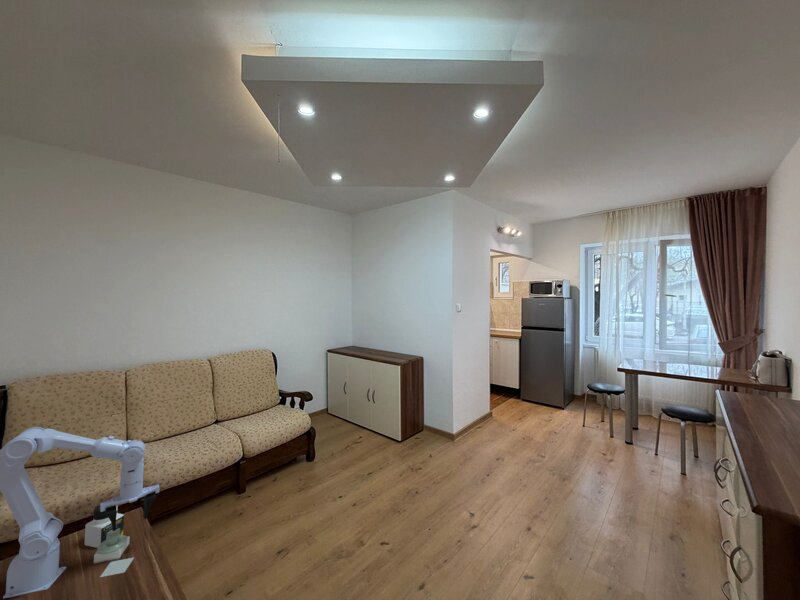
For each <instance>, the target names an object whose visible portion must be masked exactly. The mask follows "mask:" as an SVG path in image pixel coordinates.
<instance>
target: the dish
mask: <svg viewBox="0 0 800 600" xmlns="http://www.w3.org/2000/svg"><path fill="white" fill-rule="evenodd" d="M129 546H130V536H127V543H126V544H125V545H124V546H123V547H122V548H120V549H119V550H117V551H114V552H112V553H109V554H99V553H98V550H97V551H95V553H94V554H93V564H99V563H104V562H109V561H110V562H111V561H116V560H120V559H121V557H122V555H123V554H124V552H125V551H126V549H127V548H128V547H129Z"/></svg>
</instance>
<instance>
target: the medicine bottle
mask: <svg viewBox="0 0 800 600" xmlns="http://www.w3.org/2000/svg"><path fill="white" fill-rule="evenodd" d="M118 507H119V505H117V506H116V510H117V511H118ZM92 519H93V520H91V521H89V522H87V523H86V524H85V525H84V527H85V529H84V546H86V547H92V548H95V549H98V546H99V545H100V544H101V543H102V542H104V541H105V540H106V537H107V533H108V532H110V531H112V530H113V529H112V523H111V521H110V519H109V518H108V516H107V515H106V512H105V511H103V512H101V511H100V504H99V505H97V506H96V507H95V508H94V509H93V518H92ZM124 523H125V513H124V514H123V513H119V512H117V515H116V529H119V530H120V535H124Z"/></svg>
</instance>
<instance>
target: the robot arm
mask: <svg viewBox="0 0 800 600" xmlns="http://www.w3.org/2000/svg"><path fill="white" fill-rule="evenodd" d="M53 449H62V450H71V451H80V452H81V451H82V452H89V453H90V455H91V457H93V458H99V459H105V460H111V461H119V463H120V464H121V468H120V482H119V483H120V484H119V495H117V496H114V497H113V498H111V499H108V500H106V501H103V502H101V503H100V504H99V505H100V511H101V512H103V511H105V512H106V515H107V516H108V518H109V519H110V521H111V523H112V529H113V531H115V530H116V515H117V513H118V509H117V510H116V506H117V505H118V506H120V505H123V504H126V503H129V504H131V503H134V502H137V501H138V499H140V498H143V511H142V518H143V519H144V520H147V519H148V516H149V512H150V510H151V507H152V505H153V504H154V501H155V500H156V497H157V494H159V493H160V485H159V484H156V485H151V486H147V487H144V474H145V473H144V470H145V462H144V461H145V458H144V454H145V451H146V444H145V442H144V441H142V440H139V439H133V440H130V439H127V440H123V439H118V438H117V439H116V438H115V436H113V435H108V437H106V436H104V437H101V438H98V439H95V438H94V439H93V438H89V437H84V436H81V435H75V434H73V433H72V434H71V433H68V432H63V431H59V430H56V429H53V428H43V427H39V426H33V427H29V428H27V429H25V430H23V431H22V432H21V433H19V435H17V436H16V437H14V438H13V439H11V440H9V441H8V442H7V443H5V445H4V446H2V448H1V449H0V492H1V494H2V496H3V498H4V500H5V502H6V503H7V506H8V507H9V510H10V511H11V512H10V513H12V516H13V517H14V519H15V521H16V523H17V525H18V527H19V533H18V543H19V545H20V547H19V550H18V552H19V553H18V554H17V555H16V556H15V557H14V558H13V559H12V560H11V562H10V564H9V565H8V569H7V572H6V582H5V583H6V584H5V594H4V595H3V596H2V598H3V599H7V598H8V599H9V598H13V597H19V596H22V595H25V594H31V593H35V592H41V591H45V590H48V589H49V588H50V587H51V586H52V585H53V583H54V582H55V581H56V580H57V579H58V578H59V577H60V576H61V574H62V573H64V571H65V570H66V569H67V566H61V567H60V566H59V565H60V564H59V563H60V546H61V542H60V540H59V538H58V535H59V534H60V533H61V532H62V530H63V528H64V523H63V521H62V520H61V519H59V518H57V517H56V516H55V515H54V514H53V512H49V511H47V510H46V508H45V506H44V504H43V502H42V500H41V498H40V496H39V494H38V492H37V489H35V486H34V484H33V482H32V480H31V478H30V476H29V474H28V472H27V470H26V468H25V464H26V463H27V461H28V460H29V459H30V457H32V455H33V454H34V453H35V451H37V455H39V454H43V453H45V452H48V451H51V450H53Z"/></svg>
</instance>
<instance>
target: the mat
mask: <svg viewBox="0 0 800 600" xmlns="http://www.w3.org/2000/svg"><path fill="white" fill-rule="evenodd" d="M134 559H135V557H134V556H133V557H129V558H124V559H117V560H111V561H110V562H109V564H108V565H107V566H106V568H105V569H104V571H103V572H102V573H101V575H100V576H99V578H103V577H105V578H106V577H109V576H113V575H119V574H124V573H126V572H127V569H128V568H129V566H130V565H131V563H132V562H133V560H134Z"/></svg>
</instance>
